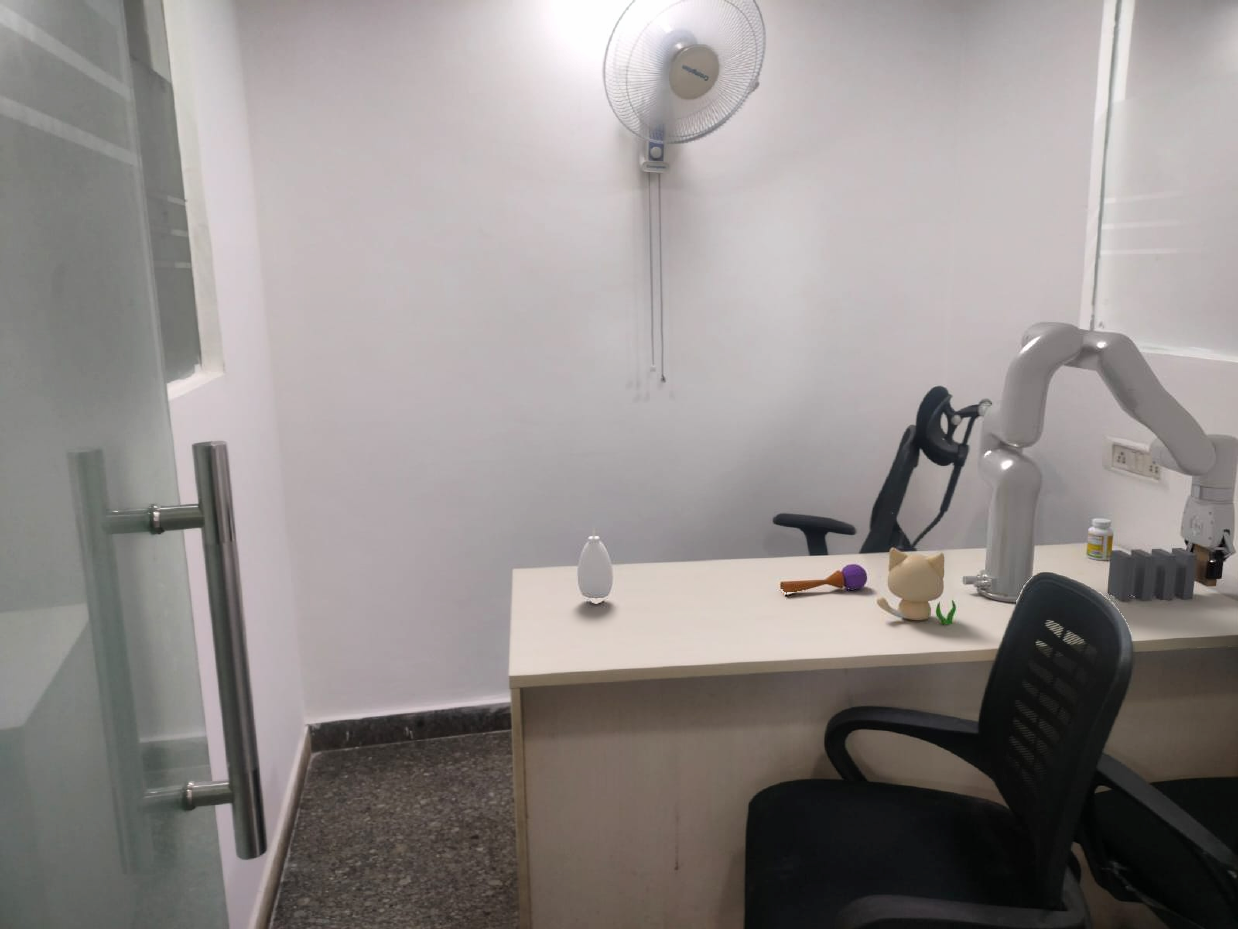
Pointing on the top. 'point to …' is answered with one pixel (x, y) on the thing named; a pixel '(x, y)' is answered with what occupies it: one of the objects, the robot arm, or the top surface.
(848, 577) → the kendama
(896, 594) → the kitten
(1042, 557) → the top surface
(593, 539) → the white tall oval piece
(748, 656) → the top surface
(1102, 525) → the supplement bottle
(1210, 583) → the domino
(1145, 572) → the domino
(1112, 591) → the domino
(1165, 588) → the domino
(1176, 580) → the domino
